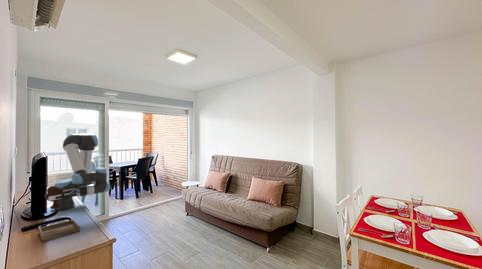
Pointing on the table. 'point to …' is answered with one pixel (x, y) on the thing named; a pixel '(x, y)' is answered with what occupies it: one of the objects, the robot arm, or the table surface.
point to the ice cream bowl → (54, 194)
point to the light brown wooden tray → (58, 230)
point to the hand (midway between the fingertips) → (47, 197)
